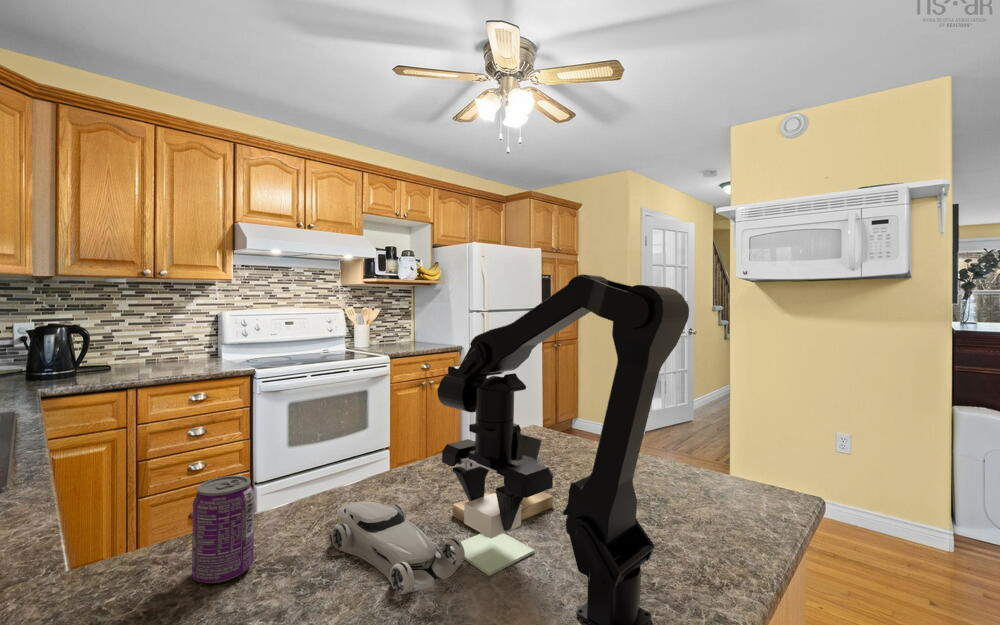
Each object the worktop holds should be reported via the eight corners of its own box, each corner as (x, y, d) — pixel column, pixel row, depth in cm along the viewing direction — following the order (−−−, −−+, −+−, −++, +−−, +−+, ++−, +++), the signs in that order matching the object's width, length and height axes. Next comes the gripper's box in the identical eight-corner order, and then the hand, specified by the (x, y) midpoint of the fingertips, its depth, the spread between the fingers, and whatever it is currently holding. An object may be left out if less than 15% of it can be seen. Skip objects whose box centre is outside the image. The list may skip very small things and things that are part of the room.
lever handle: (490, 485, 88) (491, 449, 88) (494, 483, 89) (495, 447, 89) (536, 496, 83) (537, 458, 83) (540, 493, 85) (541, 455, 85)
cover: (490, 538, 64) (491, 517, 64) (464, 523, 69) (464, 503, 69) (520, 525, 68) (521, 505, 68) (493, 511, 73) (494, 492, 73)
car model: (404, 604, 57) (405, 564, 57) (315, 534, 73) (316, 503, 73) (471, 568, 65) (471, 533, 65) (377, 512, 82) (377, 484, 81)
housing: (486, 535, 73) (486, 522, 73) (452, 515, 80) (452, 503, 80) (552, 507, 84) (552, 495, 84) (517, 491, 91) (517, 481, 91)
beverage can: (240, 552, 67) (241, 470, 67) (262, 571, 63) (263, 483, 62) (183, 573, 62) (184, 484, 61) (203, 595, 57) (204, 499, 57)
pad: (489, 575, 62) (489, 572, 62) (449, 549, 69) (449, 546, 69) (534, 552, 69) (534, 550, 69) (493, 530, 75) (493, 527, 75)
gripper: (578, 421, 67) (576, 528, 67) (492, 401, 81) (491, 489, 81) (525, 435, 60) (523, 555, 60) (440, 409, 73) (439, 507, 73)
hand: (492, 522), depth 69 cm, fingers closed on cover, 6 cm apart
